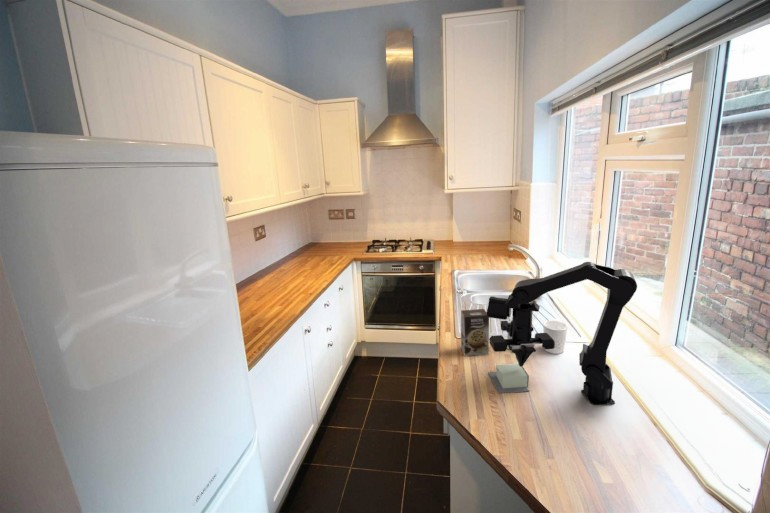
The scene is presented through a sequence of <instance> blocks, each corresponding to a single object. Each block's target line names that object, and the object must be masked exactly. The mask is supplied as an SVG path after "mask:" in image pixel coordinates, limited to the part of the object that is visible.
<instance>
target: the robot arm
mask: <svg viewBox="0 0 770 513" xmlns="http://www.w3.org/2000/svg"><path fill="white" fill-rule="evenodd" d="M587 280H588V281H591V282H593V283H595V284H597V285H599V286H601V287H603V288H605V289H607V294H606V301H605V304H604V307H603V310H602V312H601V315H600V318H599V320H598V324H597V327H596V329H595V332H594V334H593V337H592V340H591V342H590V343H588V344H589V345H588V344H585V343H583V344H582V349H581V351H580V353H579V357H578V358H579V366H581V368H580V370H581V372H582V374H583V375H584V376H585V378H584V382H583V386H582V387H583V388H582V389H581V391H580V392H581V393H582V395H583V396H584V397H585V398H586V399H587V400H588V401H589V403H590V404H591V405H593V406H597V405H598V406H599V405H615V404H616V402H615V400H614V399H613V398H612V396H613V387H614V380H613V378H612V370H611V367H610V366H609V365H608V364H607V353H608V352H607V351H608V349H609V346H610V343H611V340H612V338H613V335H614V332H615V330H616V327H617V325H618V322H619V319H620V316H621V314H622V312H623V309H624V307H625V306H626V305H627V304H628V303H629V302H630V301H631V299H632V298H633V296H634V295H635V293H636V291H637V288H638V283H637V281H636V278H635V277H634V274H633V273H632V272H631V271H629V270H628V269H625V268H620V269H616V268H613V267H610V266H606V265H602V264H597V263H594V262H592V261H584V262H583V263H581V264H579V265H576V266H575V265H574V266H573V267H570V268H567V269H564V270H562V271H557V272H556V273H553V274H550V275H547V276H543V277H541V278H528V279H523V280H519V281H518V282H516V284H515V286H514V288H513V290H512V292H511V293H510V294H509V295H508V297H507V298H505V297H504V298H503V297H498V296H497V297H496V296H489V297H488V304H487V308H486V312H487V317H489V319H497V320H501V321H500V330H501V331H503V332H506V333H507V334H508V333H509V336H510V337H512V339H508V338H506V339H505V338H504V335H503V334H502V335H501V334H500V335H491V336H489V346H490V347H491V348H492V350H493V351H494V352H496V353H502V352H503V353H504V352H506V351H507V350H508V347H509V348H510V351H511V353H512V354H514V355H515V358H516V362H517V364H519V366H520V367H522V366H523V367H524V365H525V363H526V361H528V359H529V358H530V357H531V356H532V354H533V353H536V352H537V350H536V348H535V345H541V347H542V348H543V349H544V348H545V349H554V348H555V341H554V340H553V339H552V338H551V336H550V335H549V334H548V333H543V332H538V333H537V332H536V333H535V334H534V337H532V332H534V329H535V328H534V327H533V313H534V312H539V310H540V305H539V304H538V303H536V300H537V299H539V298H540V297H541V296H543V295H544V294H546V293H548V292H552V291H556V290H558V289H562V288H565V287H567V286H571V285H573V284H577V283H580V282H583V281H587ZM511 316H512V318H511ZM508 318H511V319H512V320H510V322H509V321H508ZM520 345H521V349H520ZM545 349H544V350H545Z"/></svg>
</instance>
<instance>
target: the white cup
mask: <svg viewBox="0 0 770 513" xmlns="http://www.w3.org/2000/svg"><path fill="white" fill-rule="evenodd" d="M542 330H543V332H542V333H548V334H549V335H550V336H551V338H552V339H553V340H554V341H555V348H554V349H545V348H543V349H544V351H546V352H547V353H548V354H553V355H560V354H561V355H562V354H563V353H564V350H565V346H566V340H567V332H568V325H567V324H566V323H564V322H563V321H558V320H546V321H544V322H543V329H542Z"/></svg>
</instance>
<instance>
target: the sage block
mask: <svg viewBox="0 0 770 513" xmlns="http://www.w3.org/2000/svg"><path fill="white" fill-rule="evenodd" d="M495 367H496V368H495V369H496V370H495V372H496V376H497V378H498V380H499V382H500V384H501V386H502V388H517V387H527V388H528V387H529V381H530V380H529V378H530V375H529V374H528V372H527V371H526V370H525V368H524V365H523V366H522V367H520V366H519V364H518V363H509V364H508V363H505V364H504V363H502V364H496V366H495Z"/></svg>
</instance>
